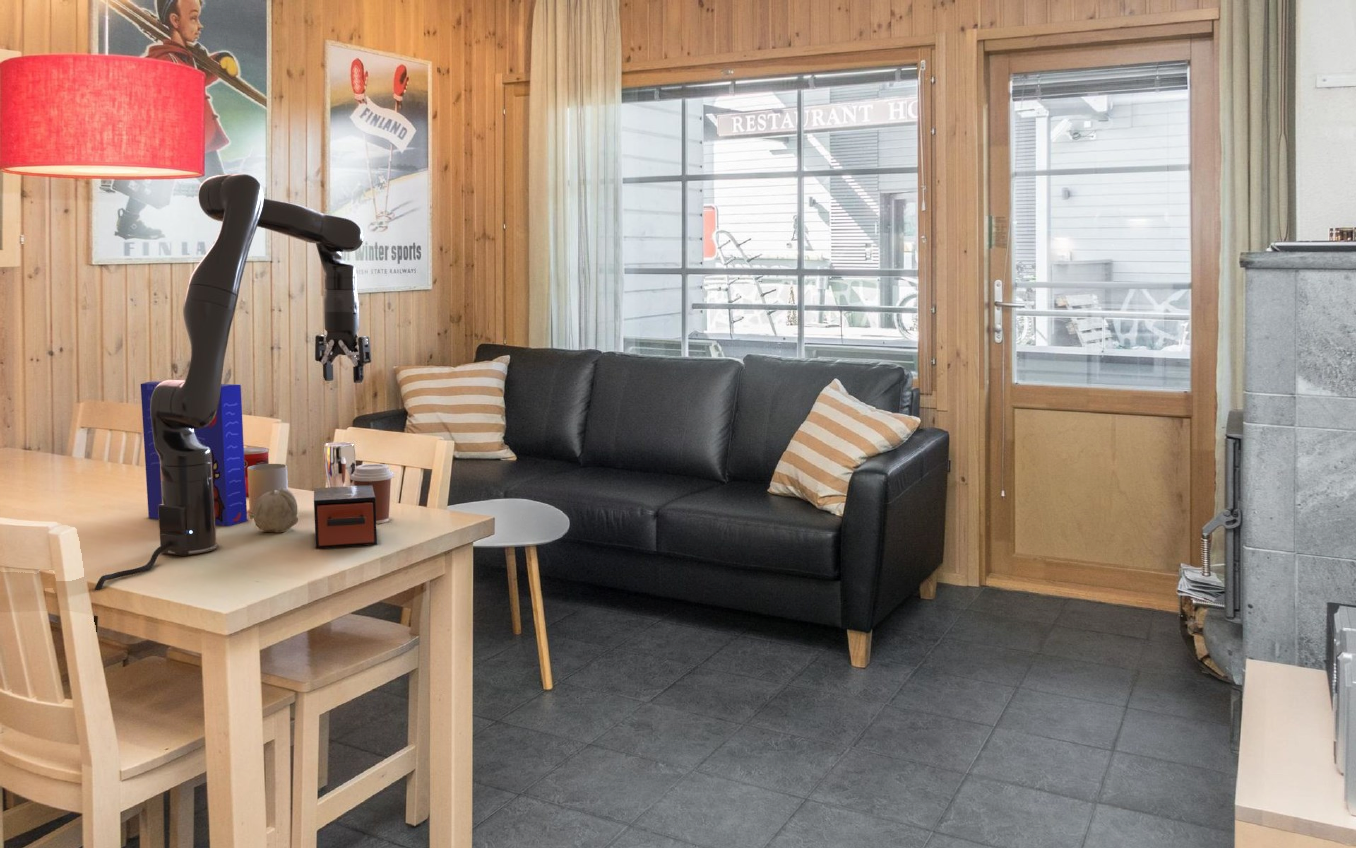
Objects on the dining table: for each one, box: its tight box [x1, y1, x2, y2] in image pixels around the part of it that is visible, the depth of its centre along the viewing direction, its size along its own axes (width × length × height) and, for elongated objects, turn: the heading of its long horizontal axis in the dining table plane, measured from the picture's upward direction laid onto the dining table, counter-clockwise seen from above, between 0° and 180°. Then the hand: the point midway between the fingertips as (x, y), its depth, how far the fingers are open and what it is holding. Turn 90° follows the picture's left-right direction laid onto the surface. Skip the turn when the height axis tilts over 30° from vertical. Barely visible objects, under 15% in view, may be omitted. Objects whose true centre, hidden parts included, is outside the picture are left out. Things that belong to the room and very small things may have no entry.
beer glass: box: [323, 441, 357, 487], centre depth 258 cm, size 7×7×15 cm
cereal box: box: [140, 380, 248, 527], centre depth 246 cm, size 22×6×30 cm, turn 70°
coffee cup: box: [351, 463, 395, 525], centre depth 246 cm, size 9×9×12 cm
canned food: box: [244, 446, 270, 497], centre depth 276 cm, size 8×8×11 cm
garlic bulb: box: [247, 488, 299, 534], centre depth 236 cm, size 9×8×10 cm
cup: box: [247, 463, 289, 514], centre depth 257 cm, size 8×8×10 cm
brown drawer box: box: [317, 501, 374, 546], centre depth 225 cm, size 17×10×8 cm, turn 18°
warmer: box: [313, 485, 378, 550], centre depth 229 cm, size 14×12×10 cm
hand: (343, 381), depth 257 cm, fingers open, 8 cm apart
